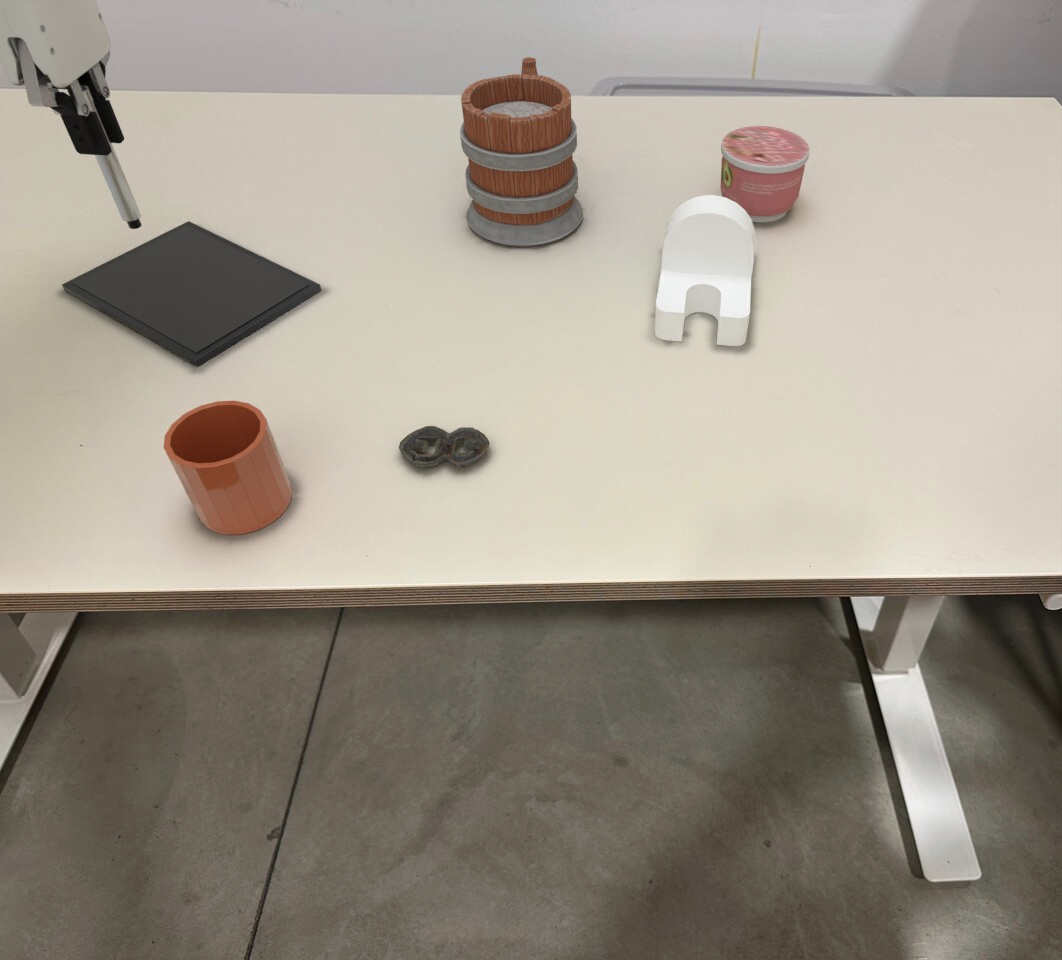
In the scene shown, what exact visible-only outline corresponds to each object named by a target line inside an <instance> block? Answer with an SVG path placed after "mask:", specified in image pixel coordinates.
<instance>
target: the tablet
mask: <svg viewBox="0 0 1062 960" xmlns="http://www.w3.org/2000/svg"><path fill="white" fill-rule="evenodd" d="M61 287H62V288H63V290H64V292H66V293H68V294H70V295H71V296H73V297H75V298H77V299H78V300H80V301H82V302H84V303H85V304H87V305H89V306H91V307H92V308H93V309H96V310H97V311H99V312H101V313H103V314H104V315H106V316H108V317H110V318H111V319H113V320H114V321H117V322H119V323H120V324H122V325H124V326H125V327H127V328H129V329H131V330H133V331H134V332H136V333H137V334H140V335H141V336H142V337H144V338H146V339H148V340H150V341H151V342H154V343H155V344H157V345H159V346H161V347H162V348H164V349H166V350H167V351H169V352H170V353H173V354H174V355H176V356H178V357H180V358H181V359H184V360H185V361H186V362H188V363H190V364H192V365H194V366H196V367H197V368H198V367H199V366H201V365H203V364H205V363H206V362H208V361H209V360H211V359H213V358H214V357H216V356H218V355H219V354H220V353H222V352H224V351H226V350H227V349H229V348H231V347H232V346H234V345H236V344H237V343H239V342H241V341H242V340H243V339H245V338H247V337H248V336H251V334H253V333H255V332H257V331H258V330H260V329H261V328H262V327H264V326H266V325H268V324H270V323H271V322H273V321H274V320H276V319H277V318H279V317H280V316H282V315H284V314H285V313H287V312H289V311H291V310H292V309H294V308H295V307H296V306H299V305H300V304H302V303H304V302H305V301H307V300H308V299H310V298H311V297H313V296H315V295H316V294H318V293H320V292H321V291H322V288H321V284H320V283H318V282H316V281H313V280H311V279H310V278H307V277H306V276H303V275H301V274H299V273H297V272H295V271H293V270H291V269H289V268H286V267H285V266H282V265H280V264H278V263H277V262H274V261H272V260H270V259H268V258H267V257H264V256H262V255H260V254H259V253H258V254H257V253H256V252H254V251H251V250H249V249H247V248H245V247H244V246H241V245H239V244H237V243H235V242H234V241H231V240H229V239H227V238H224V237H223V236H222V235H221V236H220V235H218V234H216V233H214V232H212V231H210V230H208V229H206V228H204V227H202V226H199V225H198V224H195V223H194V222H191V221H189V220H188V221H185V222H184V223H181V224H180V225H177V226H175V227H174V228H172V229H169V230H168V231H166V232H164V233H161V234H160V235H158V236H155V237H154V238H151V239H150V240H148V241H146V242H144V243H142V244H140V245H138V246H136V247H134V248H131V249H130V250H128V251H126V252H124V253H122V254H120V255H118V256H116V257H114V258H112V259H110V260H107V261H105V262H104V263H102V264H100V265H98V266H96V267H94V268H92V269H90V270H88V271H86V272H84V273H82V274H80V275H78V276H76V277H74V278H72V279H70V280H68V281H66V282H64V283H62V284H61Z"/></svg>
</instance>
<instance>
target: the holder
mask: <svg viewBox="0 0 1062 960" xmlns="http://www.w3.org/2000/svg"><path fill="white" fill-rule="evenodd" d="M163 450H164V451H165V454H166V456H167V457H168V459H169V462H170V464H171V465H172V467H173V469H174V471H175V473H176V475H177V477H178V479H179V481H180V483H181V485H182V487H183V489H184V491H185V493H186V495H187V497H188V499H189V500H190V502H191V505H192V507H193V509H194V511H195V512H196V515H197V516H198V518H199V520H200V521H201V523H202V524H203V526H205V528H207V529H208V530H210V531H212V532H215V533H218V534H221V535H227V536H228V535H229V536H230V535H231V536H235V535H237V536H238V535H245V534H249V533H253V532H256V531H258V530H262V529H264V528H266V527H268V526H269V525H271V524H273V523H274V522H275V521H277V520H278V519H279V518H280V517H281V516H283V514H284V513H285V512H286V510H287V509H288V507H289V505H290V504H291V500H292V497H293V488H292V485H291V481H290V479H289V476H288V472H287V470H286V467H285V465H284V462H283V460H282V457H281V454H280V452H279V449H278V447H277V443H276V442H275V438H274V436H273V433H272V430H271V428H270V425H269V422H268V420H267V418H266V417H265V415H264V413H263V411H262V410H261V409H259V408H258V407H256V406H254V405H252V404H251V403H249V402H245V401H239V400H219V401H213V402H209V403H206V404H202V405H199V406H197V407H195V408H192V409H191V410H188V411H187V412H185V413H183V414H182V415H180V417H178V419H176V420H175V421H174V422H173V423H172V424H171V425H170V426H169V428H168V430H167V431H166V432H165V435H164V439H163Z"/></svg>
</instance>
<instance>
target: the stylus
mask: <svg viewBox="0 0 1062 960" xmlns="http://www.w3.org/2000/svg"><path fill="white" fill-rule="evenodd" d="M80 87H81V89H82V92H83V94H84V96H85V99H86V101H87V103H88V106H89V109H90V111H91V112H96V113H97V115H98V118H99V120H100V123H101V125H102V128H103V130H104V132H105V135H106V137H107V140H108V142H109V145H110V147H111V150H112V152H111V153H110V154H109V155H107V156H105V155H94V157H95V159H96V161H97V164H98V166H99V168H100V172H101V173H102V176H103V179H104V181H105V183H106V185H107V187H108V189H109V192H110V195H111V197H112V199H113V201H114V204H115V206H116V208H117V211H118V213H119V215H120V218H121V220H122V221H124V222H126V223H127V226H128V228H129V229H130V230H136V229H139V228H141V227H142V222H141V220H140V219H141V217H142V214H141V211H140V209H139V207H138V204H137V202H136V199H135V196H134V195H133V192H132V189H131V186H130V184H129V182H128V179H127V177H126V174H125V173H124V170H123V167H122V165H121V163H120V160H119V157H118V156H117V153H116V151H115V148H114V146H113V143H111V141H110V138H109V136H108V133H107V131H106V128H105V126H104V124H103V121H102V119H101V116H100V114H99V111H98V109H97V107H96V104H95V102H94V99H93V97H92V94H91V92H90V90H89V87H88V86H85V85H80ZM66 93H67V94H68V95H69V93H68V90H67V89H66ZM69 96H70V95H69Z"/></svg>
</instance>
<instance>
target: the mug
mask: <svg viewBox="0 0 1062 960" xmlns="http://www.w3.org/2000/svg"><path fill="white" fill-rule="evenodd" d="M460 102H461V109H462V110H461V111H462V119H463V122H462V124H461V125H460V129H459V135H460V143H461V149H462V152H463V153H464V155H465V156H466V157H467V160H468V161H467V162H468V165H467V167H466V169H465V174H464V176H465V184H466V191H467V194H468V195H469V197H470V198H471V199H472V200H471V202H470V204H469V206H468V209H467V210H466V221H467V224H468V225H469V227H470V228H471V229H472V230H473V232H475V233H476V234H477V235H479V236H480V237H482V238H483V239H486V240H487V241H489V242H492V243H495V244H497V245H500V246H501V245H502V246H507V247H516V248H532V247H540V246H545V245H549V244H552V243H555V242H558V241H560V240H562V239H564V238H566V237H567V236H569V235H570V234H571V233H572V232H573V231H574V230H576V229H577V228H578V226H579V225H580V224H581V222H582V220H583V216H584V210H583V208H582V205H581V203H580V201H579V200H578V198H577V197H576V194H577V192H578V189H579V169H578V166H577V163H576V162H575V161H574V160H573V159H574V158H573V154H574V153H575V152H576V149H577V147H578V131H577V130H578V129H577V123H576V122H575V120H574V118H572V93H571V91H570V90H569V89H568V88H567V87H566V86H565V85H564V84H562V83H560V82H559V81H557V80H555V79H553V78H551V77H548V76H544V75H541V74H540V75H538V69H537V59H536V58H535V57H531V56H530V57H524V58H522V62H521V74H518V73H516V74H515V73H514V74H507V75H501V76H495V77H489V78H484V79H480V80H477V81H474V82H473V83H471V84H469V85H468V86H467V87H466V88H465V89H464V91H463V92H462V94H461V97H460Z"/></svg>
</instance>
